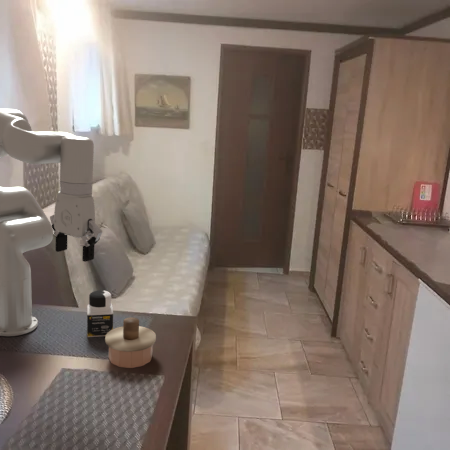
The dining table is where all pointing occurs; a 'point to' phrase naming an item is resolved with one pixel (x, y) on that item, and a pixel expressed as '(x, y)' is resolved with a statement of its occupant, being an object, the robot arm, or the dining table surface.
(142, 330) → the lid
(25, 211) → the robot arm
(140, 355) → the bowl
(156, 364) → the dining table surface
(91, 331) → the medicine bottle
